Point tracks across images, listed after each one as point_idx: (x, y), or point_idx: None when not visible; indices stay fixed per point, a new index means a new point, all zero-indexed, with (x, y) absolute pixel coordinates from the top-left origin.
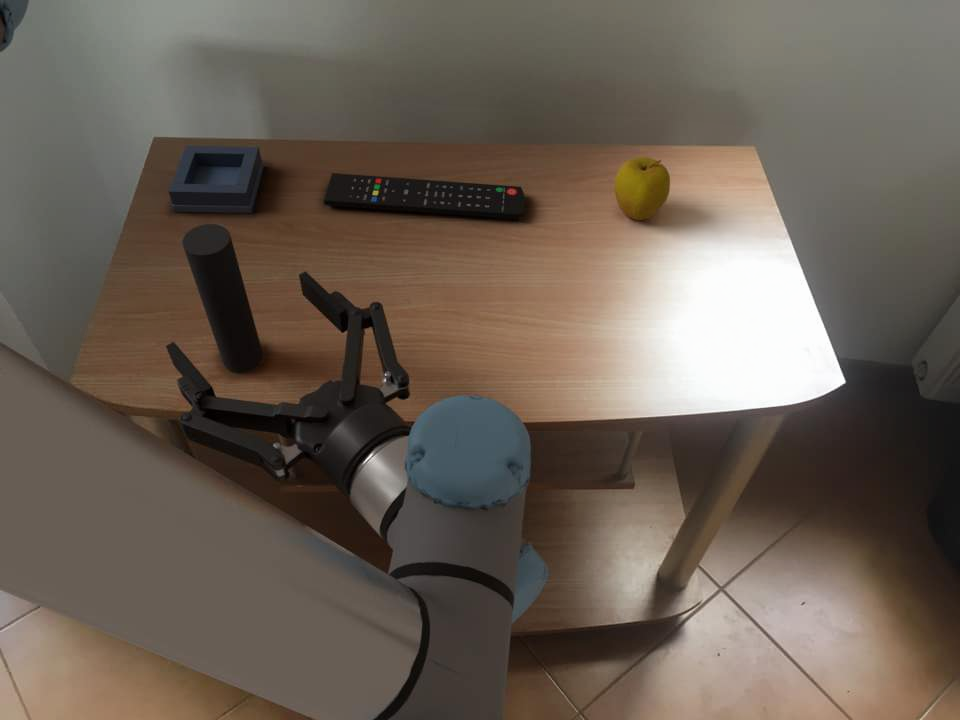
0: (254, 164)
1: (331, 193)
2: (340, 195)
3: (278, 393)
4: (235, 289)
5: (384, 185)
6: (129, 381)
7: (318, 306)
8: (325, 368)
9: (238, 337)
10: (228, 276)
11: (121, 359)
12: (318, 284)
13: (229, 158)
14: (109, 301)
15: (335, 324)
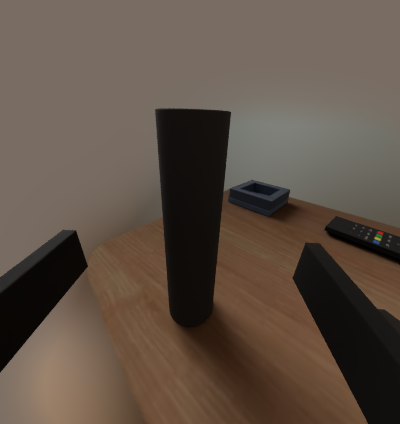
0: (284, 194)
1: (333, 225)
2: (341, 228)
3: (186, 393)
4: (198, 210)
5: (387, 237)
6: (110, 264)
7: (320, 315)
8: (271, 407)
9: (182, 281)
10: (193, 178)
11: (126, 248)
12: (345, 274)
13: (270, 190)
14: (161, 219)
15: (360, 395)
